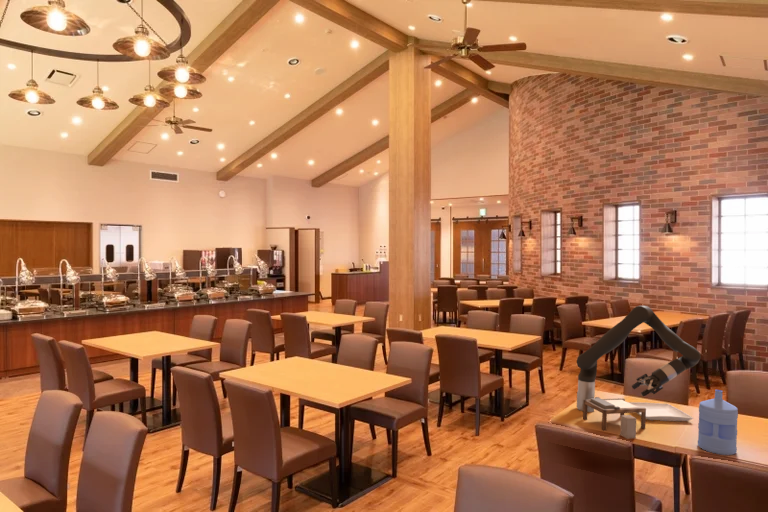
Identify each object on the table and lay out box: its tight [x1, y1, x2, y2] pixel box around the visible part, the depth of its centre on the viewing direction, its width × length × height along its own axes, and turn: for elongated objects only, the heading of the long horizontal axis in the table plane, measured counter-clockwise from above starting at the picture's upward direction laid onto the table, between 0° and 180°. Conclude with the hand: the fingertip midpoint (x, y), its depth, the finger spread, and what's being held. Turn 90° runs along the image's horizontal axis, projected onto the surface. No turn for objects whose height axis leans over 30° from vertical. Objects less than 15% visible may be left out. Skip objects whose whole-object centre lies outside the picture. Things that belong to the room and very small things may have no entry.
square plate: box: [627, 401, 694, 422], centre depth 299 cm, size 27×27×4 cm
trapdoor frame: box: [582, 396, 647, 431], centre depth 282 cm, size 24×19×12 cm
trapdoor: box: [591, 397, 639, 409], centre depth 282 cm, size 20×14×4 cm
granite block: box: [619, 414, 637, 440], centre depth 262 cm, size 5×5×10 cm
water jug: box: [697, 389, 739, 456], centre depth 248 cm, size 16×16×28 cm
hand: (637, 391), depth 268 cm, fingers open, 8 cm apart
